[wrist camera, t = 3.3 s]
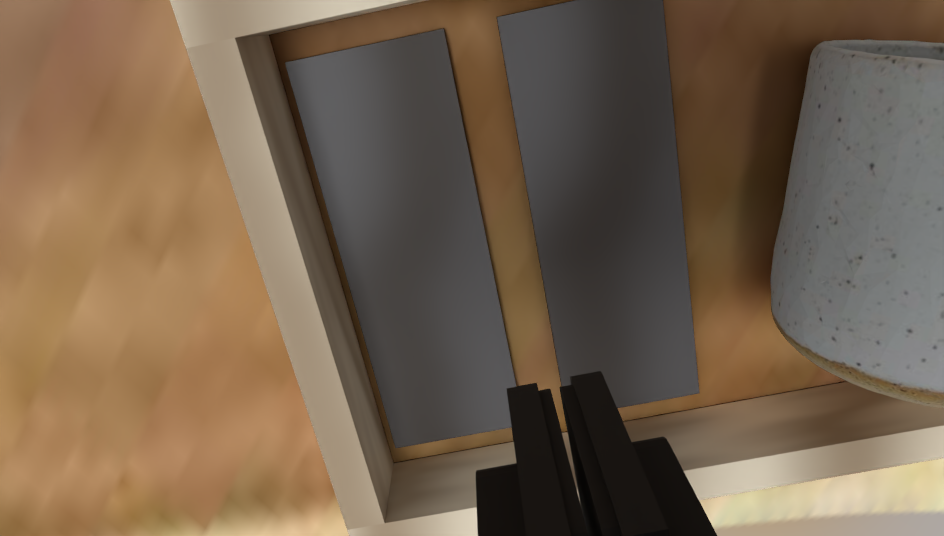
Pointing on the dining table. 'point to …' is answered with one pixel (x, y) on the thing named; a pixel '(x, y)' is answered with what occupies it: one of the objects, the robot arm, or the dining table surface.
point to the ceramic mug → (867, 219)
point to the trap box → (468, 260)
